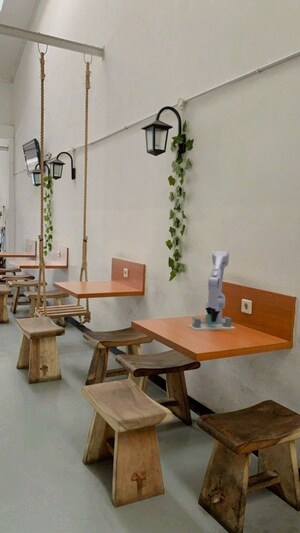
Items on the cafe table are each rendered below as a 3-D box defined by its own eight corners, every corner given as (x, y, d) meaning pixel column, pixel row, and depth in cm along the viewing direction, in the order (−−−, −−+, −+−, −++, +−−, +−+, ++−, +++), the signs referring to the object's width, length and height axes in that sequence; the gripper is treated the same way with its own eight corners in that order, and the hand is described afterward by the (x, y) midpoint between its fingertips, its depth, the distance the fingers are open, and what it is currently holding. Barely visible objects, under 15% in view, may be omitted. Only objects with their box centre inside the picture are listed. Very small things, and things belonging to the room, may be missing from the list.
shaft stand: (188, 326, 241) (189, 316, 241) (228, 325, 247) (228, 316, 247) (194, 330, 232) (194, 320, 232) (234, 329, 239) (235, 319, 238)
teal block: (214, 322, 242) (215, 313, 242) (217, 324, 238) (218, 315, 238) (205, 323, 241) (205, 313, 240) (208, 324, 237) (208, 315, 236)
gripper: (202, 295, 244) (200, 318, 246) (211, 300, 230) (210, 324, 232) (213, 295, 246) (212, 318, 247) (223, 300, 232) (222, 323, 233)
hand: (212, 321), depth 240 cm, fingers closed on teal block, 4 cm apart
